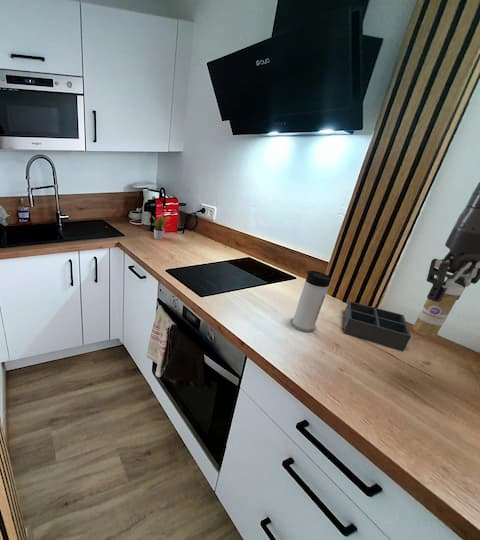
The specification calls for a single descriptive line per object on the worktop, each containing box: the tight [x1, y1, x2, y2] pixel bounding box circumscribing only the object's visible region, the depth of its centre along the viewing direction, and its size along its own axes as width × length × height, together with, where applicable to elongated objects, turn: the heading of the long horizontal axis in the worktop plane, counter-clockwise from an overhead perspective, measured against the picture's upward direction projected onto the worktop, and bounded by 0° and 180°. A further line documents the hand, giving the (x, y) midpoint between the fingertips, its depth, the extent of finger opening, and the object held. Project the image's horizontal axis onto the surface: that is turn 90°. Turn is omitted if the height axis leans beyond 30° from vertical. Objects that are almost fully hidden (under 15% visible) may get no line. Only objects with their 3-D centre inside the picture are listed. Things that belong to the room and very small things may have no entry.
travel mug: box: [291, 270, 332, 333], centre depth 93 cm, size 6×7×20 cm
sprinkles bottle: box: [412, 279, 465, 337], centre depth 68 cm, size 5×5×14 cm
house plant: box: [151, 214, 170, 241], centre depth 180 cm, size 14×14×16 cm
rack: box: [342, 300, 412, 352], centre depth 94 cm, size 15×15×6 cm
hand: (442, 299), depth 67 cm, fingers closed on sprinkles bottle, 4 cm apart
